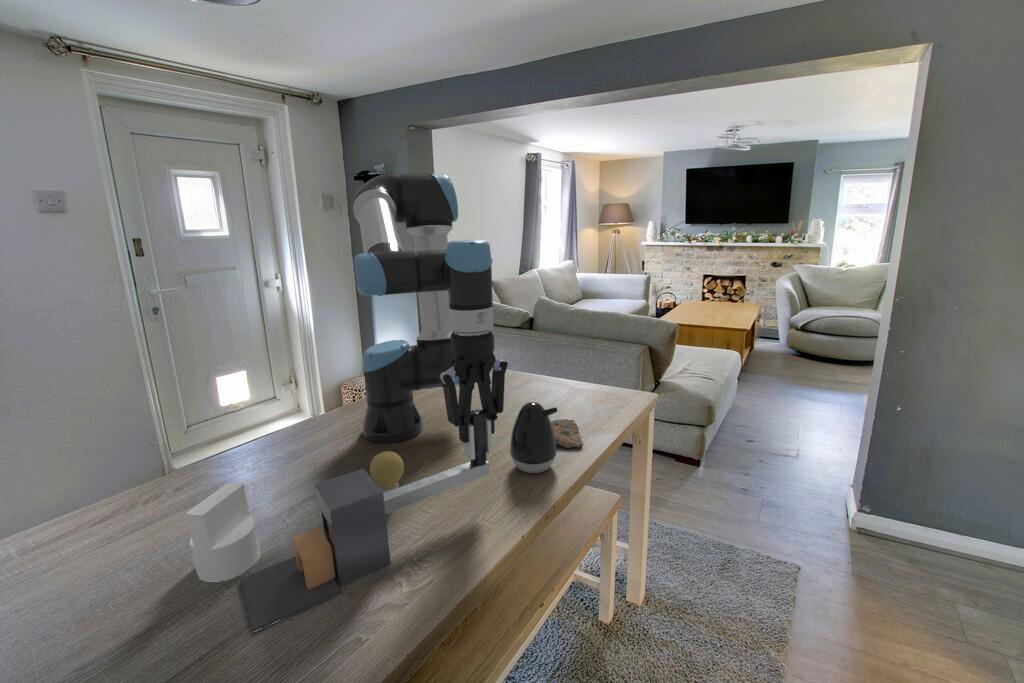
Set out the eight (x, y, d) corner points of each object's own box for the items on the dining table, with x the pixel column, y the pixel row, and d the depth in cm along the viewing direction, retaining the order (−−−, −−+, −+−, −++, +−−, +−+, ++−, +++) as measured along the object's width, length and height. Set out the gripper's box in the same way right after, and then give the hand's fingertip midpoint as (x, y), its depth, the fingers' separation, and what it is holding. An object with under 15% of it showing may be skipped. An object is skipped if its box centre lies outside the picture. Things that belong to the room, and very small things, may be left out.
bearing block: (324, 554, 80) (313, 484, 76) (371, 535, 84) (363, 468, 81) (340, 586, 73) (330, 510, 69) (390, 563, 77) (383, 491, 74)
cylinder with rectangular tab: (233, 586, 73) (219, 517, 70) (183, 580, 75) (167, 512, 72) (272, 547, 82) (261, 484, 79) (225, 542, 83) (213, 480, 80)
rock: (541, 435, 121) (549, 445, 112) (545, 412, 121) (554, 421, 111) (573, 440, 123) (584, 451, 113) (578, 418, 123) (590, 427, 113)
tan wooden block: (297, 567, 76) (292, 537, 74) (323, 556, 78) (319, 527, 77) (308, 589, 71) (303, 558, 70) (335, 577, 74) (331, 546, 72)
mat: (240, 581, 74) (240, 578, 74) (318, 550, 81) (318, 547, 80) (253, 633, 65) (252, 629, 64) (340, 593, 71) (339, 590, 71)
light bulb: (377, 512, 91) (372, 464, 88) (370, 495, 96) (365, 450, 94) (410, 502, 93) (406, 456, 91) (401, 487, 99) (397, 443, 96)
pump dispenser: (554, 481, 100) (554, 413, 96) (506, 477, 102) (503, 410, 98) (560, 457, 109) (560, 395, 105) (515, 454, 111) (513, 393, 107)
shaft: (327, 526, 76) (316, 455, 73) (481, 468, 92) (478, 408, 89) (332, 535, 74) (322, 463, 70) (490, 474, 90) (487, 413, 87)
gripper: (441, 342, 76) (449, 475, 82) (522, 327, 85) (524, 448, 91) (420, 334, 82) (429, 459, 88) (498, 320, 91) (502, 434, 97)
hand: (478, 453), depth 89 cm, fingers closed on shaft, 3 cm apart
